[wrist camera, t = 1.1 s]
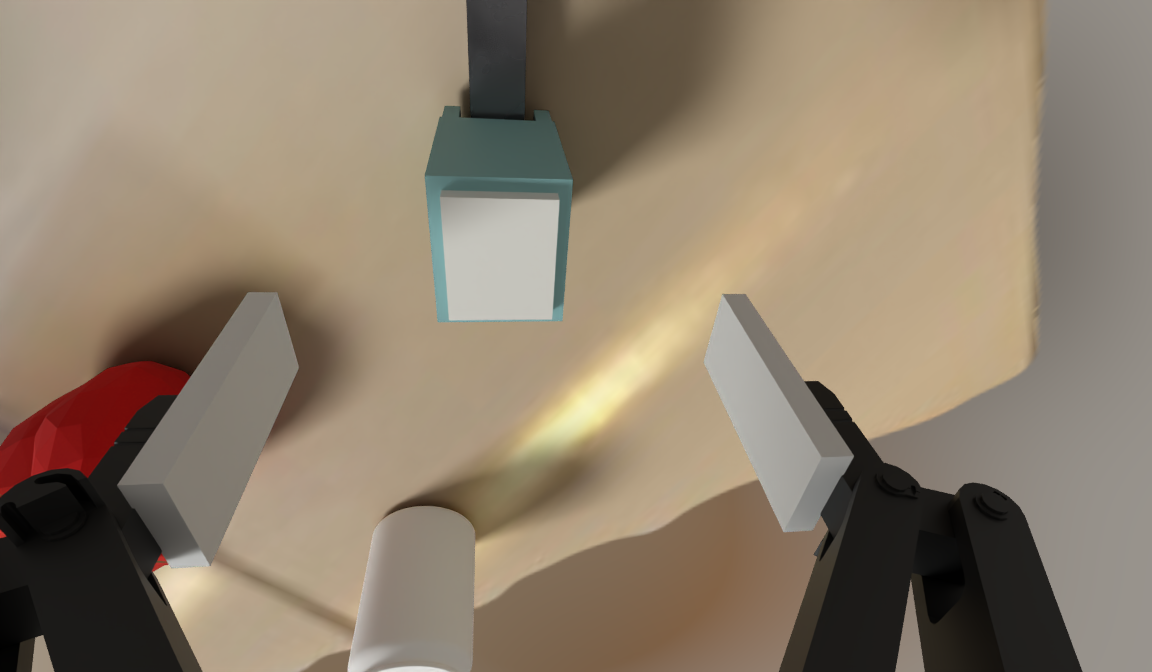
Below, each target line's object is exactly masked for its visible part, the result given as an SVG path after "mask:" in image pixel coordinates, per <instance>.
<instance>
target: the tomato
mask: <svg viewBox="0 0 1152 672" xmlns="http://www.w3.org/2000/svg"><path fill="white" fill-rule="evenodd" d="M189 379H190V376H189V375H188V374H187V373H185V372H184V371H181V370H178V369H175V368H172V367H169V366H166V365H162V364H159V363H156V362H153V361H140V362H132V363H127V364H123V365H119V366H115V367H111V368H107V369H106V370H104V371H103V372H101V373H100V374H98V375H97V376H95V377H94V378H92V379H91V380H89V381H88V382H86V383H85V384H83V385H82V386H80V387H78V388H76V389H74V390H72V391H71V392H69V393H67V394H65V395H63V396H61V397H60V398H58V399H56V400H54V401H53V402H51V403H50V404H48V405H47V406H45V407H44V408H42V409H41V410H39V411H38V412H37V413H35V414H34V415H32V416H31V417H29V418H28V419H26V420H25V421H23V422H22V423H20V424H19V425H18V426H16V427H15V428H13V429H12V431H11V432H10V434H9V435H8V436H7V438H6V439H5V440H4V442H3V443H2V445H1V446H0V497H1V496H2V495H3V494H5V493H6V492H7V491H8V490H10V489H11V488H12V487H13V486H14V485H16V484H18V483H20V482H22V481H24V480H25V479H27V478H29V477H31V476H33V475H36V474H39V473H42V472H45V471H49V470H53V469H62V468H70V469H75V470H80V471H81V472H82V473H83V474H84V475H85V476H86V477H87V478H88V477H89V475H90V474H91V473H92V471H93V470H94V469H95V467H96V466H97V465H98V463H99V462H100V461H101V459H102V458H103V457H104V455H105V454H106V452H107V451H108V450H109V448H110V447H111V446H114V442H115V440H116V439H117V438H118V436H119V435H120V434H121V432H124V431H125V429H124V428H125V427H126V425H127V424H128V423H129V421H130V420H131V419H132V417H133V416H134V415H135V413H136V412H137V411H138V410H139V409H140V408H142V407H143V406H144V405H146V404H147V403H148V402H150V401H151V400H153V399H154V398H155V397H157V396H158V395H179V393H180V392H181V390H182V389H183V387H184V386H185V384H186V383H187V382H188V380H189ZM3 537H6V535H5V534H4V533H3V532H2V531H1V530H0V538H3ZM164 565H169V564H168V562H167V561H166V559H165V558H164V556H163V555H162V553H161V555H160V557H159V558H158V560H157V562H156V564H155V566H154V568H153V570H152V572H153V571H155V570H157V569H159V568H160V567H162V566H164Z"/></svg>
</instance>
